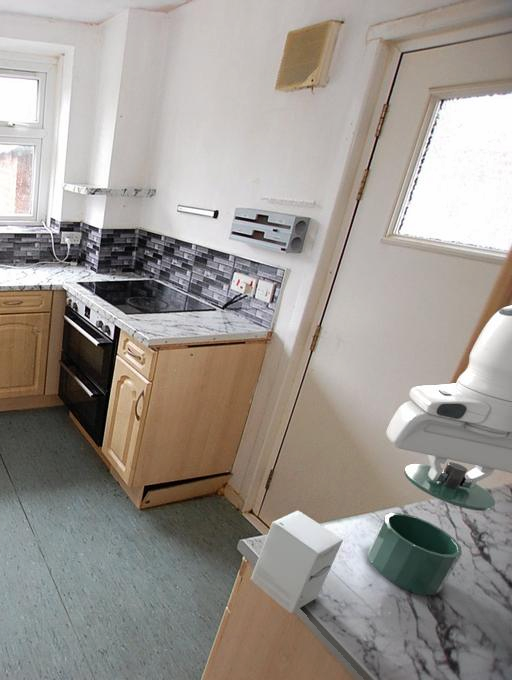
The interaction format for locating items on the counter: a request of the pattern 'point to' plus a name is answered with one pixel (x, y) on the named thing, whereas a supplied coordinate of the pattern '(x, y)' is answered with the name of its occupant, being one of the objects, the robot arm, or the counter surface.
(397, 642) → the counter surface
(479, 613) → the counter surface
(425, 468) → the lid
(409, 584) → the tin
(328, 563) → the white packaging box
